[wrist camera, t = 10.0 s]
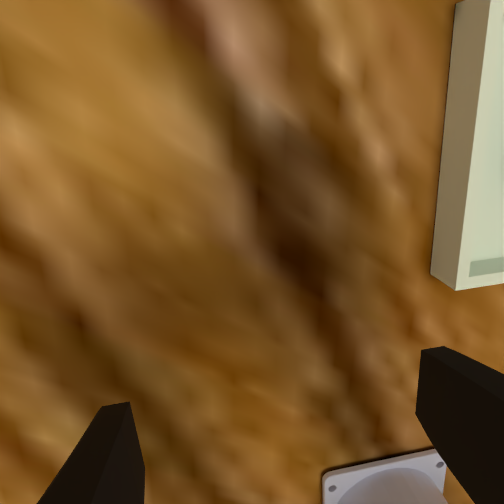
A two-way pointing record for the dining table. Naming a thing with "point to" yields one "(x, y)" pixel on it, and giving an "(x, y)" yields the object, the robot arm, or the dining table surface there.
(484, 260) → the tray
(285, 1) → the dining table surface
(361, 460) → the dining table surface
